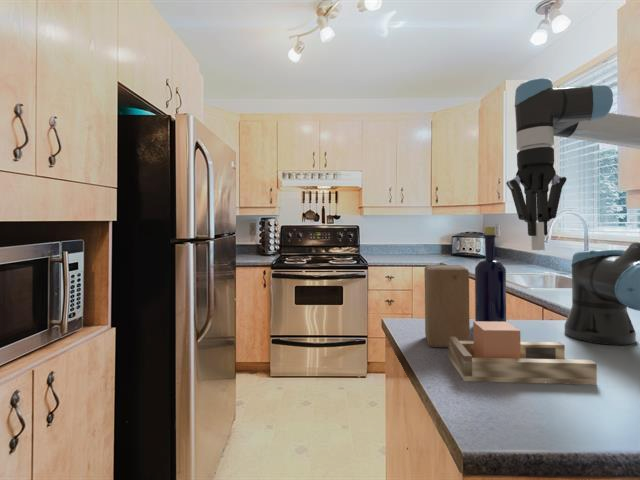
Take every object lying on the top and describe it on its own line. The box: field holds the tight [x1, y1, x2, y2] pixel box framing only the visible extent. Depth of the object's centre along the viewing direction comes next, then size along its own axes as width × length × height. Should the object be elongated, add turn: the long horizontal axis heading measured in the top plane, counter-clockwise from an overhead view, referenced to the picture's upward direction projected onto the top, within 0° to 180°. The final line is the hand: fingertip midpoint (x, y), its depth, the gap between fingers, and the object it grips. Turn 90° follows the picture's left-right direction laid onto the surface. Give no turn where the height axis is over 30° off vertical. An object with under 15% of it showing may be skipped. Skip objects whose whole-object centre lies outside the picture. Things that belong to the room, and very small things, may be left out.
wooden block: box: [423, 264, 471, 349], centre depth 96 cm, size 10×10×20 cm
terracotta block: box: [472, 320, 521, 359], centre depth 77 cm, size 7×7×8 cm
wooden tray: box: [448, 336, 598, 386], centre depth 77 cm, size 24×13×5 cm, turn 83°
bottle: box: [474, 226, 507, 322], centre depth 108 cm, size 9×9×30 cm
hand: (538, 249), depth 86 cm, fingers closed
